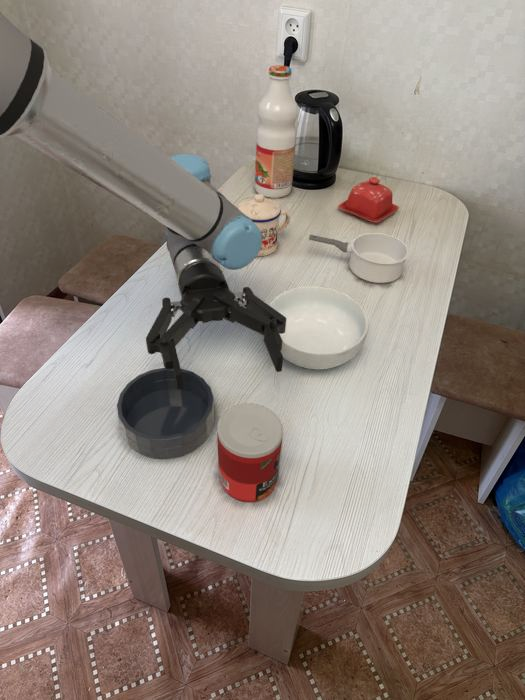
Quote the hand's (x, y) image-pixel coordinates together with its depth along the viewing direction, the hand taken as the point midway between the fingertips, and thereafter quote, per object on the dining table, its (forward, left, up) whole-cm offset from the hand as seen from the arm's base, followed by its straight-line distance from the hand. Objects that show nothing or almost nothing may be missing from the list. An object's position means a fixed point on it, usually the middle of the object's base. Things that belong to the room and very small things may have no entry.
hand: (230, 373), depth 67 cm
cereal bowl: (+13, +17, -11) cm, 24 cm away
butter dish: (+29, +66, -11) cm, 73 cm away
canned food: (+3, -9, -11) cm, 14 cm away
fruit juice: (+6, +75, -11) cm, 76 cm away
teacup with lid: (+4, +49, -11) cm, 50 cm away
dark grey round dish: (-9, 0, -10) cm, 14 cm away
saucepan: (+23, +42, -11) cm, 49 cm away
